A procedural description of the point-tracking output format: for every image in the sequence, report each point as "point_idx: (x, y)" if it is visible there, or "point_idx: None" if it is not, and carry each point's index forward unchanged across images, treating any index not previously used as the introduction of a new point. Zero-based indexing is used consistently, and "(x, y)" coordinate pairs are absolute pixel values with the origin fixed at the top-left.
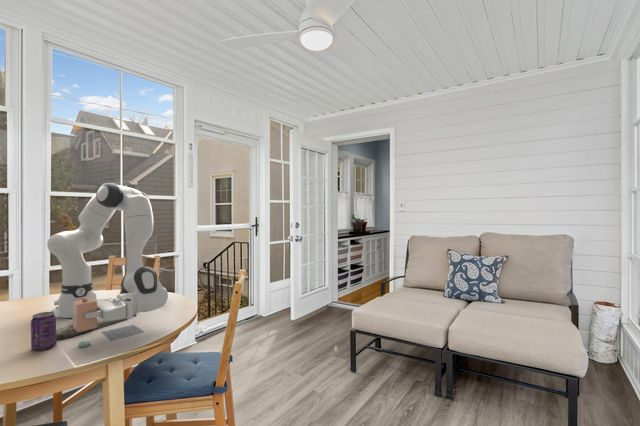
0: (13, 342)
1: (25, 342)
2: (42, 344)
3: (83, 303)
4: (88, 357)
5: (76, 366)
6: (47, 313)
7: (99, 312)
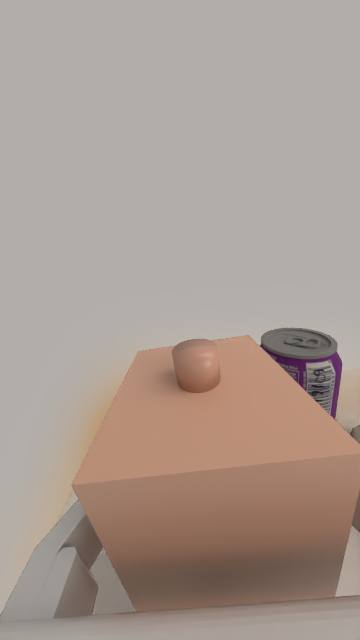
0: (351, 378)
1: (349, 395)
2: None
3: (135, 371)
4: (91, 566)
5: (69, 498)
6: (321, 346)
7: (24, 585)
